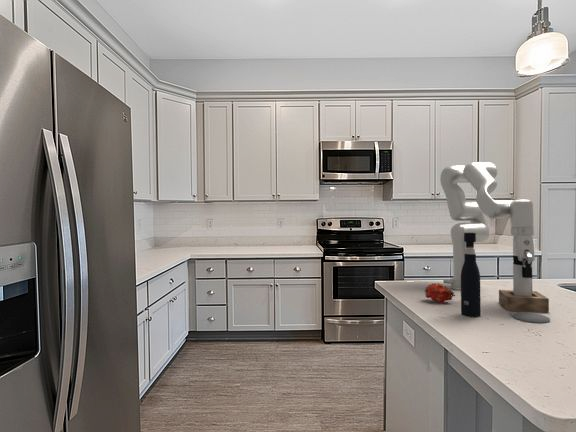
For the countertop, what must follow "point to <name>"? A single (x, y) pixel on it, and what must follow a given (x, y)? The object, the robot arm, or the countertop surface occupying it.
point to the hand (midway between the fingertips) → (523, 275)
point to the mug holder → (524, 301)
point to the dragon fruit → (438, 293)
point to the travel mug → (520, 280)
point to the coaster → (531, 317)
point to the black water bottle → (470, 280)
